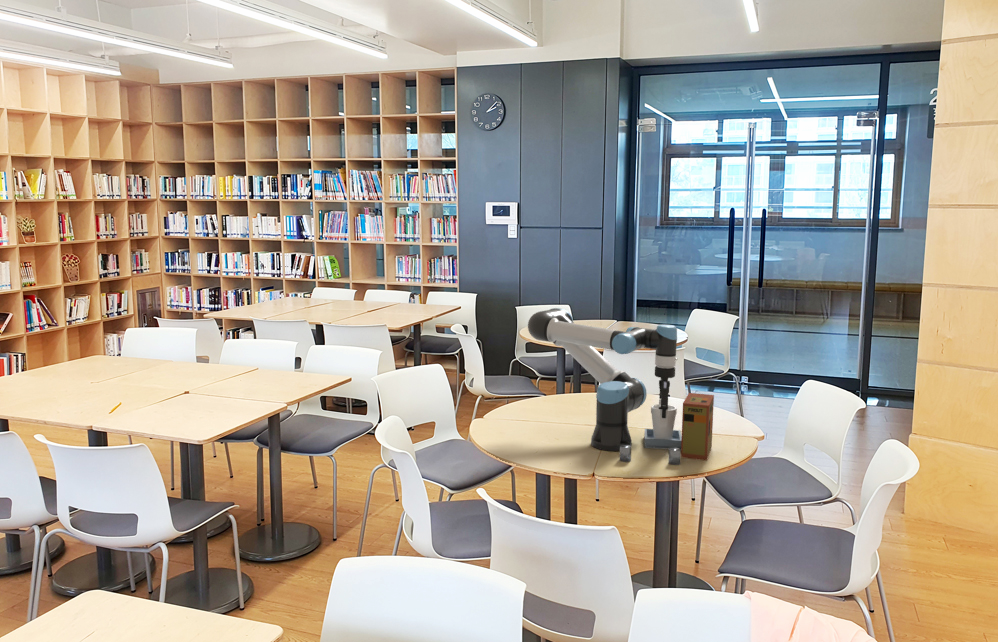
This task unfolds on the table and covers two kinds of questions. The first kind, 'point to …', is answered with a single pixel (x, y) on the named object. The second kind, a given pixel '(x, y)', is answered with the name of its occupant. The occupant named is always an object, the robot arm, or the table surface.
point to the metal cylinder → (625, 453)
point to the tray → (662, 440)
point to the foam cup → (659, 431)
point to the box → (697, 426)
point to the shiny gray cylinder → (674, 456)
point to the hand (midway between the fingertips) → (662, 421)
